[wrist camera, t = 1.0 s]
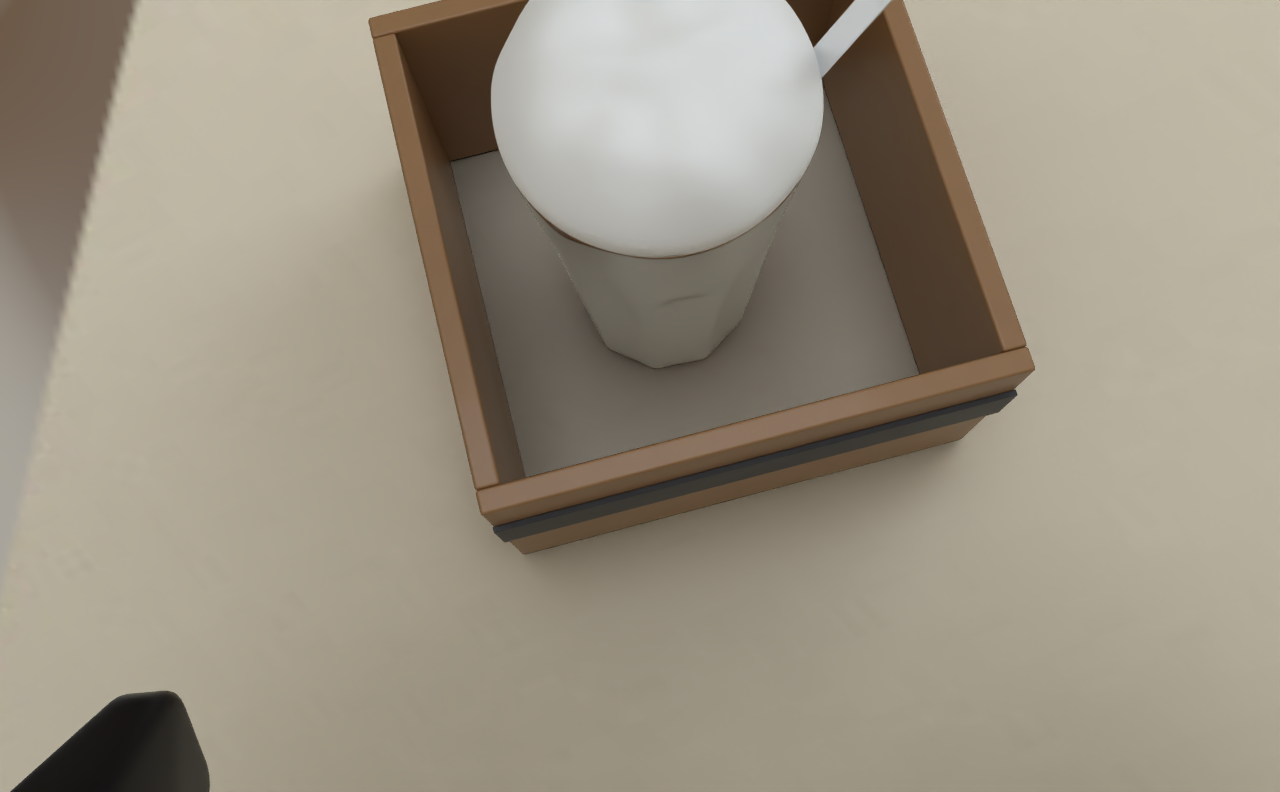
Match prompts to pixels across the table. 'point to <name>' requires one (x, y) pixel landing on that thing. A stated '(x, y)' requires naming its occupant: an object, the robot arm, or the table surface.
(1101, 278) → the table surface
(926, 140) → the carton
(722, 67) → the milkshake
